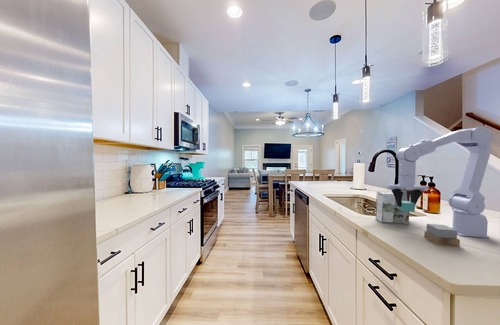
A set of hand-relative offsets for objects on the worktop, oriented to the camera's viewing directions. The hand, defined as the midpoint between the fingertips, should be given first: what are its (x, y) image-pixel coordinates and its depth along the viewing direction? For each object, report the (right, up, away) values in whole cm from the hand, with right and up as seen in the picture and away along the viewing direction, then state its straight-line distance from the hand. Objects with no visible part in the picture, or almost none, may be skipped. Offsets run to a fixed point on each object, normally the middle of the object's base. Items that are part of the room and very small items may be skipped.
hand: (405, 206), depth 87 cm
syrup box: (-1, -10, +13) cm, 16 cm away
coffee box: (+7, -10, +13) cm, 18 cm away
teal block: (0, -2, 0) cm, 2 cm away
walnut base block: (+5, -11, -11) cm, 16 cm away
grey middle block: (+5, -8, -11) cm, 15 cm away
